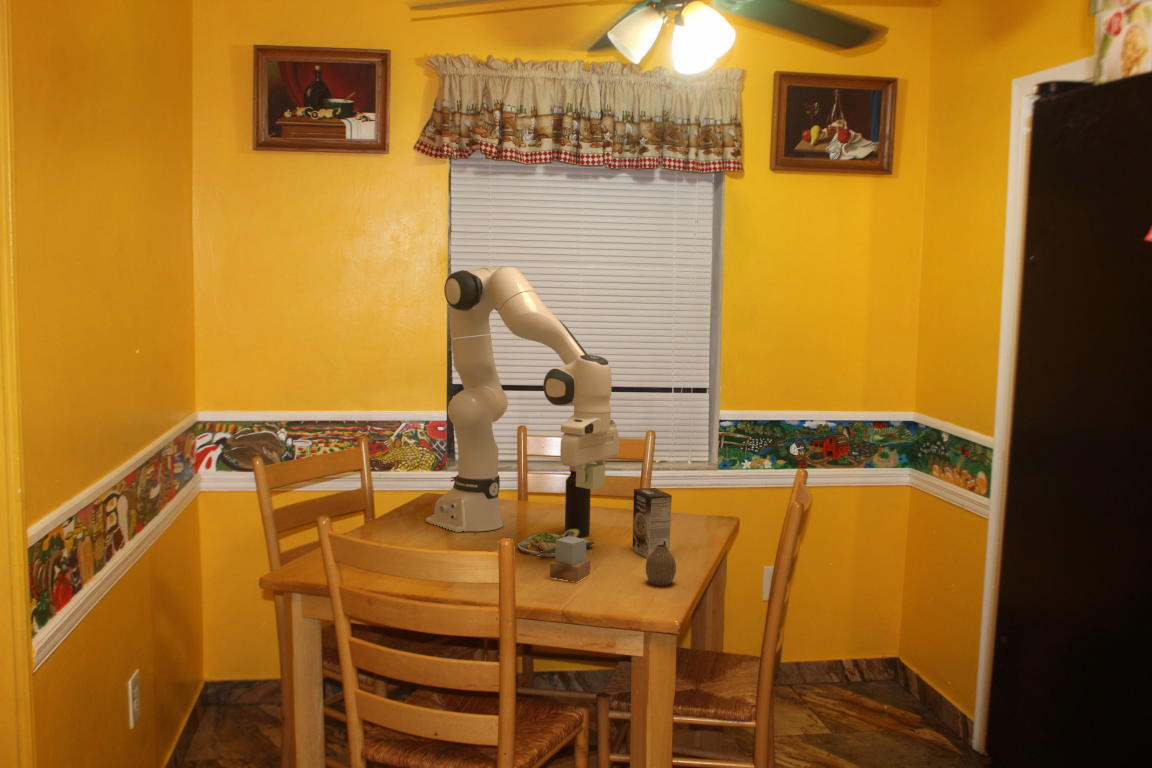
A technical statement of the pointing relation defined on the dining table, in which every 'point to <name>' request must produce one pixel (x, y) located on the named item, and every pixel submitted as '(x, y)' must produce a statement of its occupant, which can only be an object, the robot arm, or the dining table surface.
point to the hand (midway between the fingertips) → (590, 479)
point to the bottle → (577, 505)
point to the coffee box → (651, 520)
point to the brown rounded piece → (660, 566)
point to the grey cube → (570, 550)
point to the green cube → (592, 477)
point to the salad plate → (548, 542)
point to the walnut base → (570, 570)
